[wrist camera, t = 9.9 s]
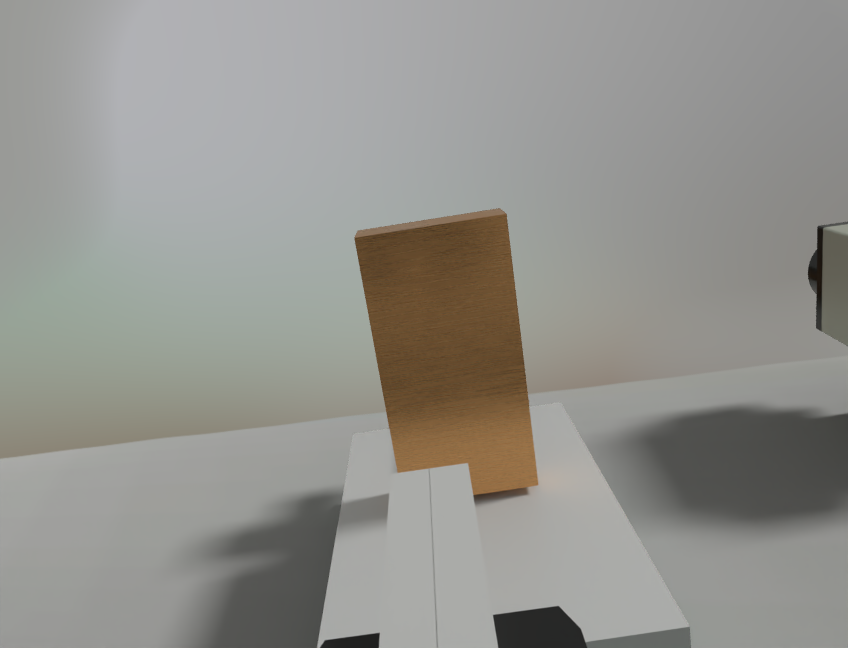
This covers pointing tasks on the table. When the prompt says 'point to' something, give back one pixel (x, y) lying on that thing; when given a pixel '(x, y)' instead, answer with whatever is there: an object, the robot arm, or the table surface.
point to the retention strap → (450, 346)
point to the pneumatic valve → (831, 280)
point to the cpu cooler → (516, 546)
